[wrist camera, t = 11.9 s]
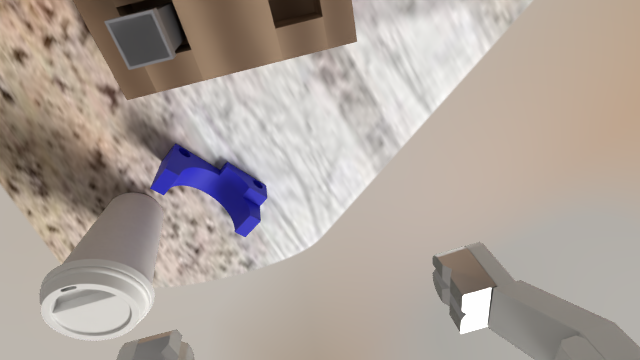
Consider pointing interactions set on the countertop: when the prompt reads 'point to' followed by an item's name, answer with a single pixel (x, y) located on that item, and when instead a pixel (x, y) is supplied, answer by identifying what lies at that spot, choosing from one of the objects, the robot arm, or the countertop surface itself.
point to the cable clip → (214, 185)
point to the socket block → (222, 37)
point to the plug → (147, 35)
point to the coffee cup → (107, 273)
